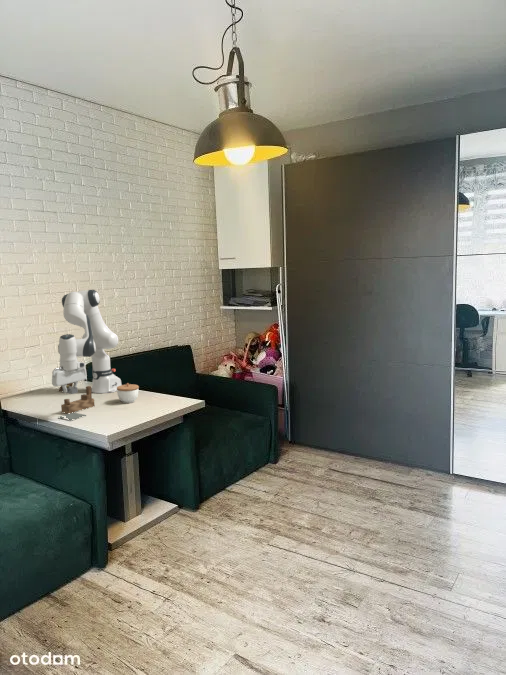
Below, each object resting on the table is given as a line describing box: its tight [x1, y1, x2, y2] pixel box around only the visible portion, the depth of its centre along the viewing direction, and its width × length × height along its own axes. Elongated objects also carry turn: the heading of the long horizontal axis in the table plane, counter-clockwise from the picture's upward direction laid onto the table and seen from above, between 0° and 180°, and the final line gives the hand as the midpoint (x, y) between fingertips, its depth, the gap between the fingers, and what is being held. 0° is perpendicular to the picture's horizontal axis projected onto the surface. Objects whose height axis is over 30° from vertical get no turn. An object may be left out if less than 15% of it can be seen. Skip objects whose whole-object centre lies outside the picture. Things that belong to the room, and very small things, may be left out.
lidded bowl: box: [116, 382, 140, 404], centre depth 295 cm, size 13×13×11 cm
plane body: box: [60, 385, 95, 414], centre depth 279 cm, size 18×6×12 cm, turn 150°
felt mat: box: [59, 412, 87, 421], centre depth 265 cm, size 10×10×1 cm
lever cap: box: [62, 385, 79, 395], centre depth 263 cm, size 7×4×4 cm, turn 61°
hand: (70, 391), depth 264 cm, fingers closed on lever cap, 4 cm apart
